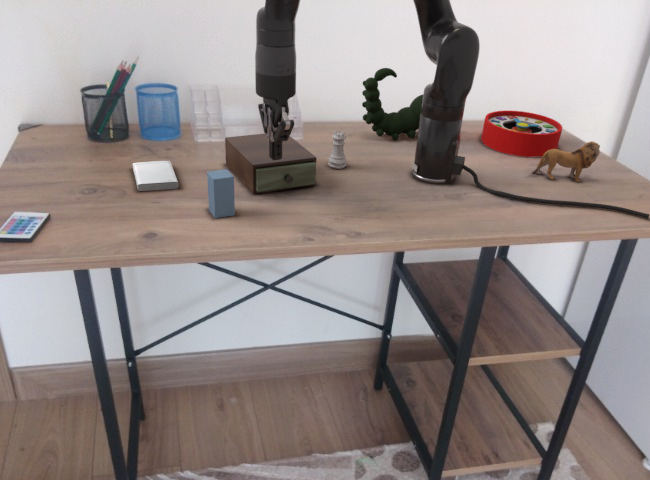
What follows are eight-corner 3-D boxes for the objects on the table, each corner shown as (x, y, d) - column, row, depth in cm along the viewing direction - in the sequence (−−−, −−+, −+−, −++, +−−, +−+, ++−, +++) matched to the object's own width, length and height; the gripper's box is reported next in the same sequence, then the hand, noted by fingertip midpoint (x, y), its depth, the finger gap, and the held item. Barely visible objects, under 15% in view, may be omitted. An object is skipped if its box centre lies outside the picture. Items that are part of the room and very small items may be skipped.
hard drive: (178, 181, 134) (170, 159, 144) (137, 184, 131) (131, 161, 141) (178, 188, 135) (170, 166, 144) (138, 191, 132) (132, 169, 142)
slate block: (234, 215, 126) (233, 176, 122) (215, 218, 124) (213, 179, 120) (228, 207, 129) (227, 169, 124) (208, 209, 127) (206, 171, 123)
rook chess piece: (344, 170, 149) (346, 136, 145) (325, 168, 149) (327, 134, 145) (348, 163, 153) (350, 130, 148) (329, 161, 153) (331, 128, 149)
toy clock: (500, 134, 160) (475, 109, 176) (495, 156, 163) (471, 130, 180) (575, 135, 163) (544, 111, 179) (569, 157, 166) (539, 131, 183)
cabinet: (315, 185, 141) (316, 157, 137) (253, 194, 135) (252, 165, 131) (283, 157, 153) (284, 131, 150) (225, 164, 147) (224, 137, 144)
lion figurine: (586, 174, 156) (597, 138, 152) (595, 183, 152) (606, 146, 147) (527, 172, 155) (536, 135, 151) (534, 180, 151) (543, 143, 146)
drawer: (317, 186, 138) (318, 165, 136) (259, 194, 133) (259, 172, 130) (285, 157, 151) (285, 138, 149) (231, 164, 146) (230, 144, 143)
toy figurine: (369, 150, 166) (459, 139, 171) (369, 75, 156) (465, 65, 160) (359, 137, 174) (445, 127, 179) (358, 65, 163) (450, 56, 168)
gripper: (309, 76, 116) (306, 168, 125) (280, 59, 125) (280, 145, 135) (270, 79, 113) (270, 173, 122) (244, 61, 122) (246, 149, 132)
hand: (275, 158), depth 128 cm, fingers closed
